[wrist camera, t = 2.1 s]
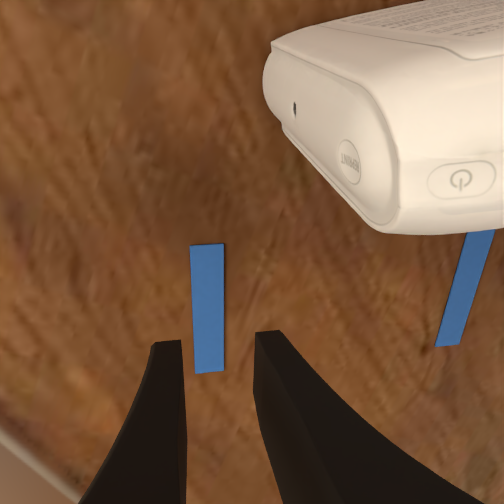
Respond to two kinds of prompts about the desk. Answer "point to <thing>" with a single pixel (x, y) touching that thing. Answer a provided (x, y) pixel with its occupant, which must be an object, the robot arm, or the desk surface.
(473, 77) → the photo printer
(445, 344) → the tape marks
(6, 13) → the desk surface
